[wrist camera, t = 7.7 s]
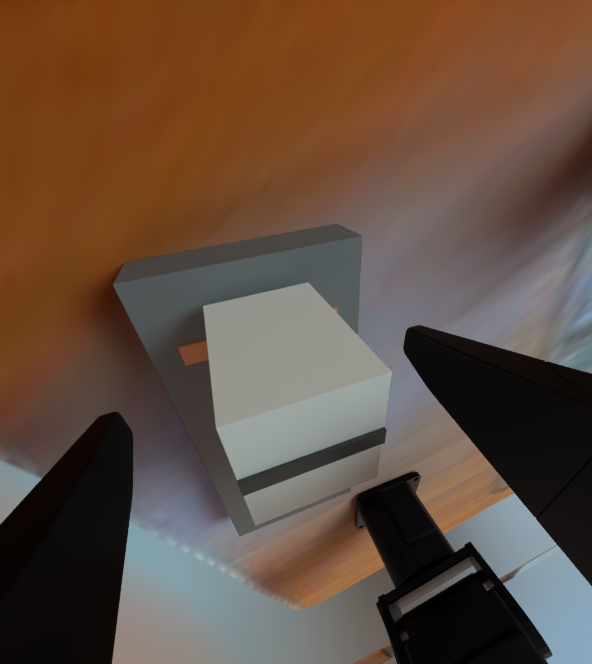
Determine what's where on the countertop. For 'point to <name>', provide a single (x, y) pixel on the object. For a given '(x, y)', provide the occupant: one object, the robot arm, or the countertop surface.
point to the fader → (294, 398)
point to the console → (217, 286)
